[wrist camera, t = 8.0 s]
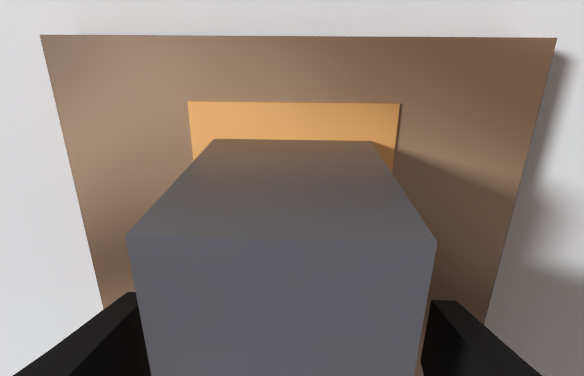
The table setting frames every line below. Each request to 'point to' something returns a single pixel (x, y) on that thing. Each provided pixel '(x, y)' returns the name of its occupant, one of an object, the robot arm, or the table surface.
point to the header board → (305, 128)
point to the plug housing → (283, 264)
